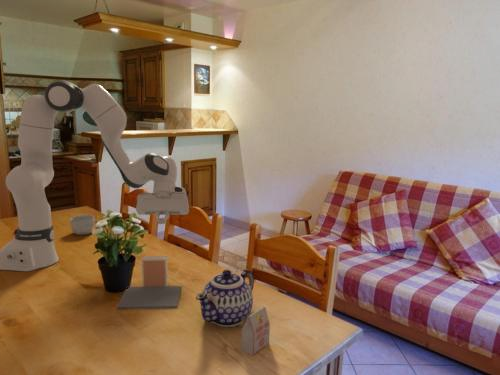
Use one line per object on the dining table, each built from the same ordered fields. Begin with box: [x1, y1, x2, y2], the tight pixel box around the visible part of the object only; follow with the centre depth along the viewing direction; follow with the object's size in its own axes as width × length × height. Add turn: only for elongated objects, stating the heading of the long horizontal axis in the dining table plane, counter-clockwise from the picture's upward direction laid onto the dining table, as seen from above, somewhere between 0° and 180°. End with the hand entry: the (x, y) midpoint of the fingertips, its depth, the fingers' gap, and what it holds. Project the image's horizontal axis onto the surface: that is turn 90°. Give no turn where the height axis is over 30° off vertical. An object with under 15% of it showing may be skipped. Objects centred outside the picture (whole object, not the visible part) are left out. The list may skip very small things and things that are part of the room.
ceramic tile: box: [141, 255, 169, 287], centre depth 135 cm, size 8×3×10 cm, turn 95°
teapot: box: [195, 268, 255, 328], centre depth 114 cm, size 25×15×15 cm, turn 141°
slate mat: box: [116, 285, 182, 310], centre depth 127 cm, size 18×14×1 cm
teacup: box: [69, 213, 96, 236], centre depth 191 cm, size 14×11×8 cm
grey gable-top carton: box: [241, 306, 271, 357], centre depth 101 cm, size 4×7×10 cm, turn 140°
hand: (161, 223), depth 150 cm, fingers closed
